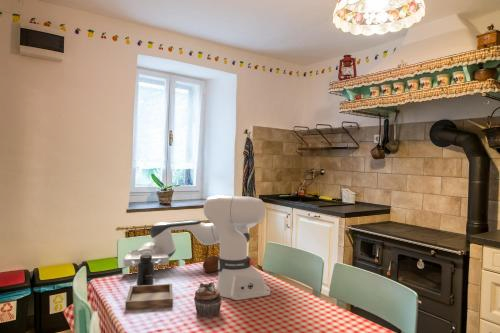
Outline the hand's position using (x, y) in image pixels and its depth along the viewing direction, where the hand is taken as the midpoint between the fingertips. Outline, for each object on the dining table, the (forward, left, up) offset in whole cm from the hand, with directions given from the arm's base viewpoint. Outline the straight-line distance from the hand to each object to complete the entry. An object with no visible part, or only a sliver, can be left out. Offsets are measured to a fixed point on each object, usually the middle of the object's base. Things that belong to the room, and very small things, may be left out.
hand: (145, 265), depth 153 cm
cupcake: (-23, +41, -6) cm, 47 cm away
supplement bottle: (0, +8, -6) cm, 10 cm away
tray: (-3, +26, -6) cm, 26 cm away
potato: (-30, -5, -6) cm, 31 cm away
